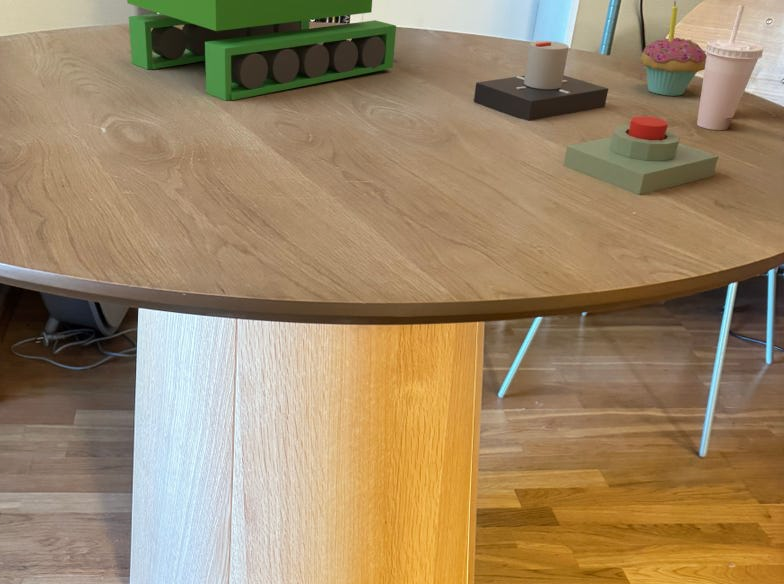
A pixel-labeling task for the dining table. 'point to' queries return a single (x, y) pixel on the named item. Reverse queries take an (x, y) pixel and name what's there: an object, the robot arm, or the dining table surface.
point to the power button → (648, 128)
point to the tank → (260, 42)
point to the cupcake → (672, 62)
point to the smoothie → (726, 78)
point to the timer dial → (546, 64)
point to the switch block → (640, 161)
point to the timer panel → (539, 97)
